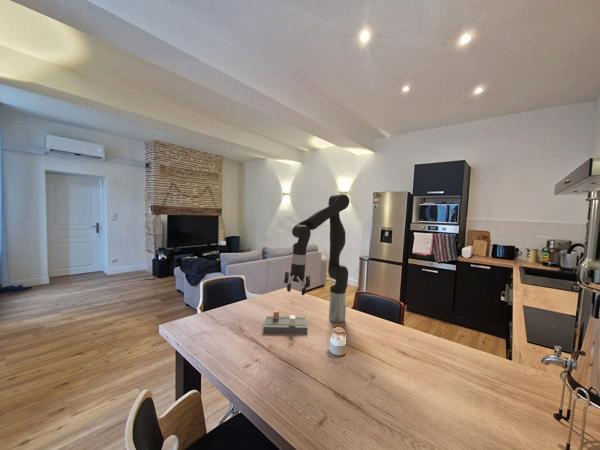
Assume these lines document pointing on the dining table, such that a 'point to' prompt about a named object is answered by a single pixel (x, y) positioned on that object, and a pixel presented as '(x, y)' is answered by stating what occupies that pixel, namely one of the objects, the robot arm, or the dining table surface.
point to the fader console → (285, 325)
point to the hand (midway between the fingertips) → (295, 293)
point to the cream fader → (292, 320)
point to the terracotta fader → (276, 314)
